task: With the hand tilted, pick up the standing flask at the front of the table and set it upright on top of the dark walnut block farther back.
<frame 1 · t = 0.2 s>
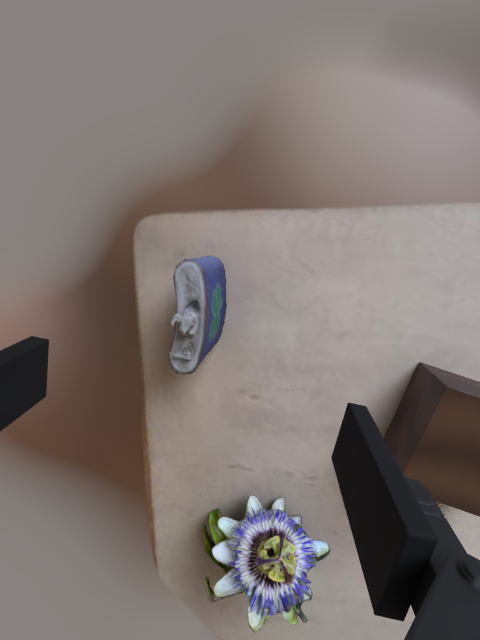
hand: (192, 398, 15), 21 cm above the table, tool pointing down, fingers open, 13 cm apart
walnut block: (447, 423, 35), on the table
passion flower: (262, 526, 41), on the table
flask: (212, 302, 36), on the table
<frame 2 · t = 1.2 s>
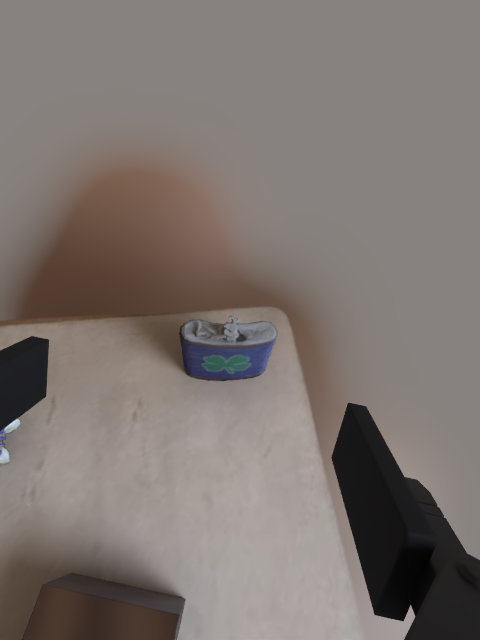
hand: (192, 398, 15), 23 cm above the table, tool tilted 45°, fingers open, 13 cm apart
flask: (225, 369, 41), on the table
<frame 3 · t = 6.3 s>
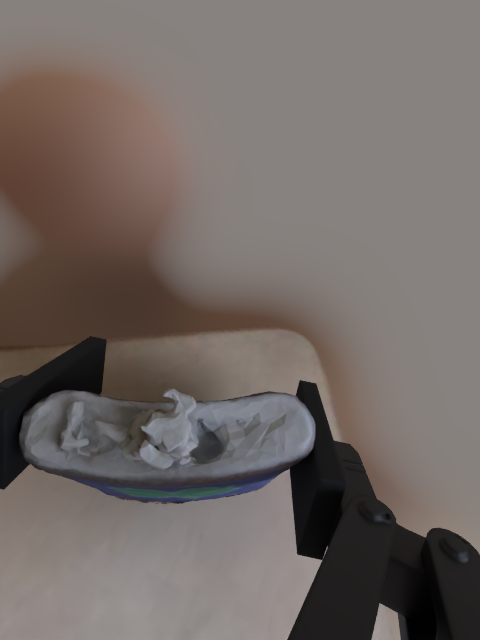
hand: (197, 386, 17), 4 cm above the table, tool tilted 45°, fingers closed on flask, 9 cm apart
flask: (185, 470, 19), on the table, touching gripper
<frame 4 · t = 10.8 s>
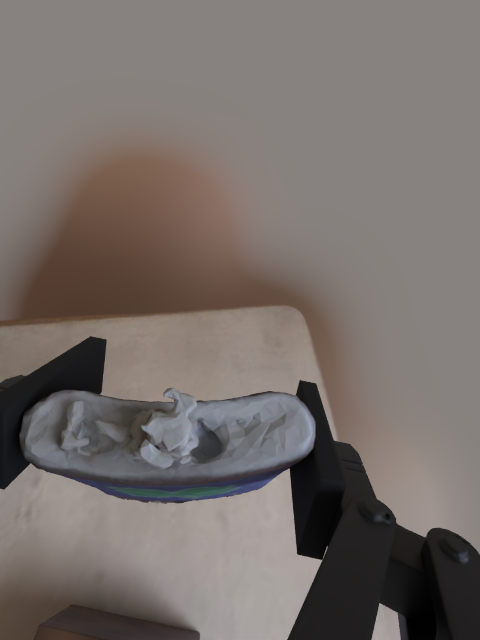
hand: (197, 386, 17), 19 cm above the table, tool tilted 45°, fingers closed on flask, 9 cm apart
flask: (185, 470, 19), point 15 cm above the table, touching gripper
when the fingers open (10 cm above the table, at t = 15.6 s): flask stays where it is, resting on walnut block.
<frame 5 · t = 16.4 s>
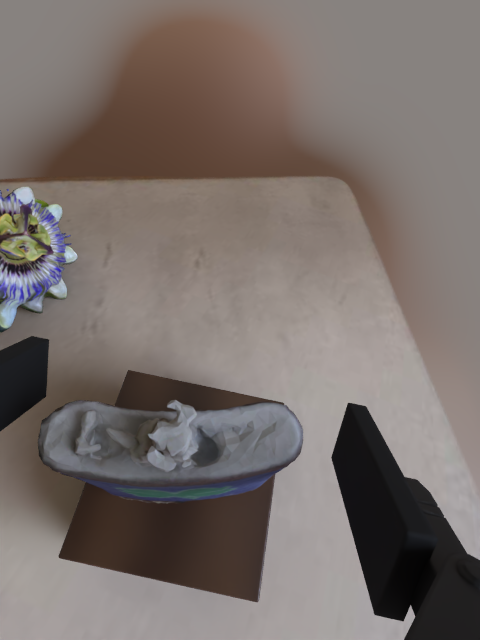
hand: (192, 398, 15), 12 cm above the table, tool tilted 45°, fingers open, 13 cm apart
walnut block: (189, 481, 25), on the table
passion flower: (19, 281, 32), on the table
flask: (185, 472, 20), point 6 cm above the table, touching walnut block
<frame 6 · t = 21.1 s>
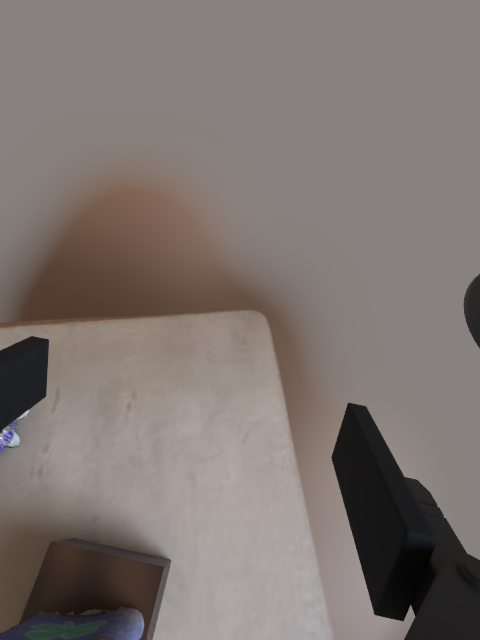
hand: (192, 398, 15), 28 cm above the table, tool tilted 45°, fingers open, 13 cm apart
walnut block: (103, 612, 33), on the table
flask: (84, 630, 28), point 6 cm above the table, touching walnut block
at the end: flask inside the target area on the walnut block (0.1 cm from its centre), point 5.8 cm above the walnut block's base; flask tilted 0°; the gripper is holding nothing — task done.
